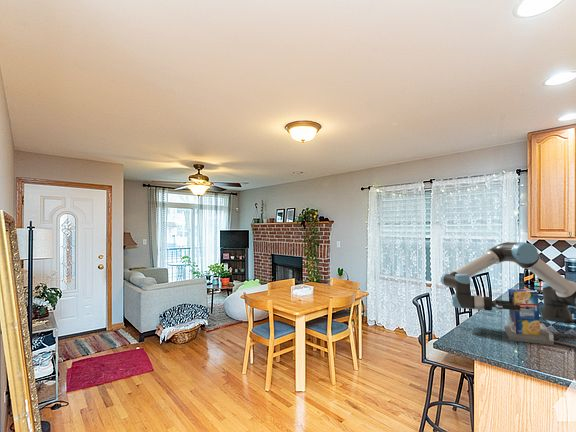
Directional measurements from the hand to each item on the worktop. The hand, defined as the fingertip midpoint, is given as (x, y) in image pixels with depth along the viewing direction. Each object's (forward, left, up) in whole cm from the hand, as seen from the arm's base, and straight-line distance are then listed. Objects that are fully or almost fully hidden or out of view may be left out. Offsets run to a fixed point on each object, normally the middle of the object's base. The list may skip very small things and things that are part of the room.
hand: (535, 307), depth 166 cm
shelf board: (+3, -3, -15) cm, 16 cm away
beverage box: (+4, -3, -14) cm, 15 cm away
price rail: (-3, +3, -13) cm, 14 cm away
